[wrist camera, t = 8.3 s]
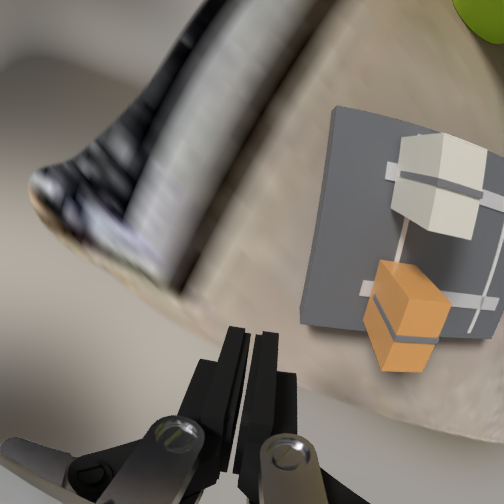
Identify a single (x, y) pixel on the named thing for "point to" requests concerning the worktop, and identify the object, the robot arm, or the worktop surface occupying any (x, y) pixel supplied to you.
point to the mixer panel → (396, 234)
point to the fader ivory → (440, 183)
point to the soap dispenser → (483, 18)
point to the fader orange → (404, 317)
